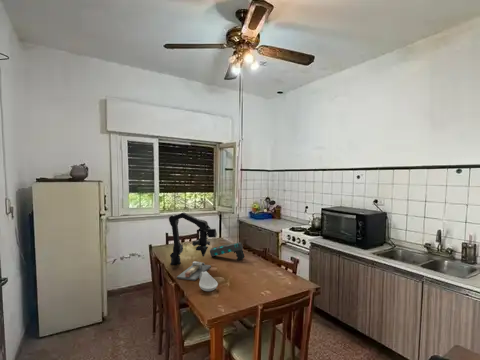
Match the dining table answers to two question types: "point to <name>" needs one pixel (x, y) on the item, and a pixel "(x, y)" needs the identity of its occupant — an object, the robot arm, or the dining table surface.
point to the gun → (228, 250)
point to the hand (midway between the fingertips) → (203, 256)
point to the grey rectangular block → (197, 264)
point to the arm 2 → (193, 270)
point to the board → (195, 274)
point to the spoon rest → (207, 282)
